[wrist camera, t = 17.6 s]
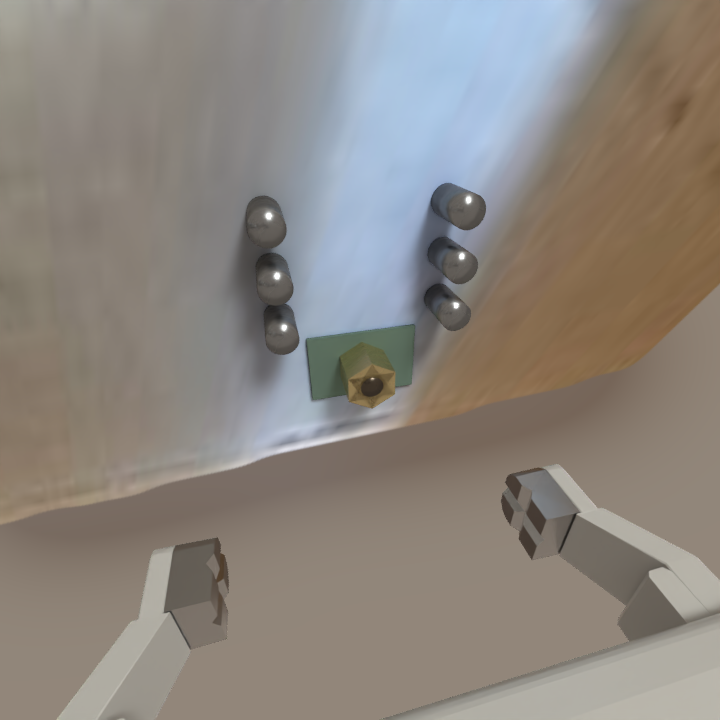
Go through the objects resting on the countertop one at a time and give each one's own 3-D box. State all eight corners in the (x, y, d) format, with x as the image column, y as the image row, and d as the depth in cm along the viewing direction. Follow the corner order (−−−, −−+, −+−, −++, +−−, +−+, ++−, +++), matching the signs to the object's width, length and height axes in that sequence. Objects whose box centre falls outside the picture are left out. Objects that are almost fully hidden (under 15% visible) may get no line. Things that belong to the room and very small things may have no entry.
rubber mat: (312, 398, 48) (312, 400, 48) (306, 338, 44) (306, 340, 43) (410, 382, 50) (411, 384, 50) (413, 324, 46) (415, 325, 45)
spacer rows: (265, 331, 42) (268, 356, 38) (243, 196, 35) (243, 210, 31) (448, 307, 46) (468, 328, 42) (462, 182, 38) (488, 192, 34)
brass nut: (341, 387, 48) (349, 412, 44) (338, 345, 44) (347, 368, 41) (382, 381, 48) (394, 405, 45) (383, 338, 45) (396, 360, 42)
